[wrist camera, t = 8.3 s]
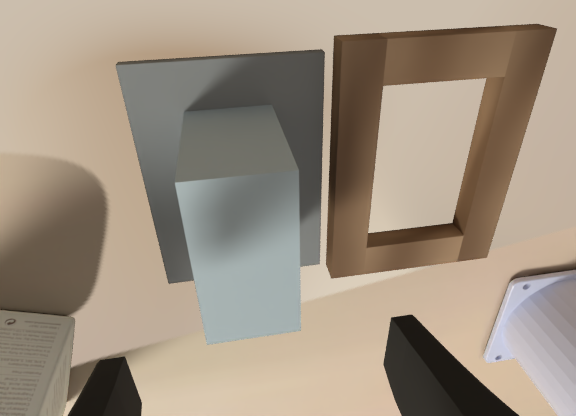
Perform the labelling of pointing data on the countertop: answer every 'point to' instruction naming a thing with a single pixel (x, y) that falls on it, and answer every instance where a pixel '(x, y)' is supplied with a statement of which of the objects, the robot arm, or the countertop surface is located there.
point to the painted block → (241, 221)
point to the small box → (34, 363)
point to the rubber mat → (217, 95)
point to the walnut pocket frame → (483, 152)
